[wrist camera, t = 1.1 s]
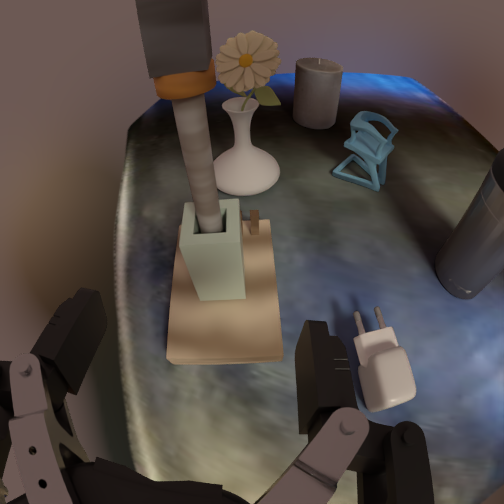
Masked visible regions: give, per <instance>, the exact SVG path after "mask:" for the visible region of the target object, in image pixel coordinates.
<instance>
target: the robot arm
mask: <svg viewBox="0 0 504 504" xmlns="http://www.w3.org/2000/svg"><path fill="white" fill-rule="evenodd" d="M503 268H504V148H503V149H502V150H500V151H499V153H498V154H497V156H496V158H495V160H494V162H493V164H492V166H491V168H490V170H489V172H488V174H487V175H486V177H485V179H484V181H483V183H482V185H481V187H480V188H479V190H478V192H477V194H476V195H475V197H474V199H473V200H472V202H471V204H470V205H469V207H468V209H467V210H466V212H465V214H464V215H463V217H462V218H461V220H460V221H459V223H458V225H457V226H456V228H455V229H454V231H453V232H452V234H451V235H450V236H449V238H448V239H447V241H446V242H445V244H444V245H443V247H442V248H441V249H440V251H439V252H438V254H437V256H436V259H435V269H436V273H437V275H438V278H439V280H440V282H441V283H442V285H443V286H444V287H445V288H446V289H447V291H449V292H450V293H451V294H452V295H454V296H456V297H458V298H461V299H472V298H474V297H475V296H476V295H477V294H478V293H479V292H481V291H482V290H483V289H484V288H485V287H486V286H487V285H488V284H489V283H490V282H491V281H492V280H493V279H494V278H495V277H496V276H497V275H498V274H499V273H500V272H501V271H502V270H503ZM106 328H107V317H106V313H105V310H104V307H103V303H102V300H101V296H100V293H99V292H98V291H96V290H91V289H85V288H80V289H79V290H78V291H77V293H76V294H75V296H74V297H73V299H71V298H68V299H67V300H66V301H65V302H63V303H62V304H61V305H60V306H59V307H58V309H57V310H56V312H55V313H54V317H52V318H51V320H50V321H49V324H47V326H46V327H45V329H44V331H43V332H42V334H41V335H40V337H39V339H38V340H37V342H36V344H35V345H34V347H33V349H32V350H31V352H30V353H24V354H21V355H19V356H17V357H16V358H15V359H14V360H13V361H0V504H250V503H248V502H247V501H246V500H244V499H243V498H241V497H239V496H237V495H235V494H233V493H231V492H229V491H226V490H223V489H222V485H218V484H210V483H202V482H195V481H153V480H151V479H149V478H147V477H145V476H143V475H141V474H139V473H137V472H135V471H133V470H131V469H130V468H128V467H126V466H124V465H120V464H117V463H114V462H111V461H108V460H104V459H102V458H99V457H96V460H95V462H90V461H89V458H88V456H87V454H86V452H85V450H84V449H83V447H82V446H81V444H80V442H79V440H78V438H77V435H76V432H75V429H74V426H73V423H72V419H71V416H70V413H69V409H68V406H67V402H66V399H65V396H66V394H67V392H69V393H71V394H74V395H77V393H78V391H79V388H80V386H81V384H82V381H83V379H84V377H85V374H86V372H87V370H88V368H89V365H90V363H91V361H92V359H93V357H94V355H95V352H96V350H97V348H98V346H99V344H100V342H101V340H102V338H103V335H104V334H105V331H106ZM295 370H296V385H297V402H298V421H299V434H308V444H307V445H306V446H305V448H304V449H303V450H302V451H301V453H300V454H299V455H298V456H297V457H296V459H295V460H294V461H293V462H292V463H291V465H290V466H289V467H288V468H287V469H286V470H285V471H284V473H283V474H282V475H281V476H280V477H279V478H278V479H277V480H276V481H275V482H274V483H273V484H272V485H271V487H270V488H269V489H268V490H267V491H266V492H265V493H264V494H263V495H262V496H261V497H260V498H259V499H258V500H257V501H256V502H255V503H254V504H327V502H328V501H329V500H330V498H331V497H332V496H333V494H334V492H335V491H336V488H337V482H338V481H339V479H340V478H341V476H342V475H343V473H344V472H345V470H351V471H355V472H357V494H358V504H434V494H433V485H432V478H431V471H430V464H429V458H428V452H427V446H426V441H425V436H424V433H423V431H422V429H421V428H420V427H419V426H418V425H417V424H415V423H413V422H410V421H404V422H401V423H399V424H397V425H396V426H395V427H392V426H387V425H382V424H378V423H374V422H372V421H370V420H368V419H367V418H366V416H365V415H364V414H363V413H362V412H360V411H359V409H358V406H357V402H356V396H355V391H354V386H353V381H352V376H351V371H350V366H349V362H348V357H347V353H346V348H345V346H344V344H343V343H342V341H341V340H340V339H339V337H338V336H329V331H328V326H327V323H326V322H325V321H312V320H306V321H305V323H304V326H303V329H302V331H301V334H300V337H299V340H298V343H297V346H296V351H295ZM11 445H13V450H14V454H15V458H16V462H17V466H18V470H19V474H20V477H21V480H22V484H23V487H24V490H25V494H23V495H21V496H19V497H17V498H16V499H14V500H12V501H10V502H8V503H6V502H5V497H7V496H8V490H7V488H6V487H5V486H4V483H3V481H2V477H3V473H4V469H5V465H6V461H7V458H8V454H9V451H10V448H11Z"/></svg>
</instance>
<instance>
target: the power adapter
mask: <svg viewBox="0 0 504 504" xmlns="http://www.w3.org/2000/svg"><path fill="white" fill-rule="evenodd" d="M374 312H375V315H376V318H377V320H378V323H379V327H380V330H376V331H372V332H368V333H366V332H365V329H364V327H363V324H362V320H361V316H360V313H359V312H358V311H355V312H354V313H353V316H354V319H355V322H356V324H357V328H358V332H359V335H358V336H357V337H355V338H354V339H353V340H354V343H355V347H356V350H357V354H358V358H359V361H360V366H359V367H358V375H359V379H360V384H361V388H362V392H363V396H364V400H365V404H366V407H367V409H368V410H369V412H377V411H381V410H384V409H387V408H390V407H393V406H396V405H399V404H402V403H404V402H406V401H409V400H411V399H413V398H414V396H415V395H416V386H415V381H414V377H413V374H412V370H411V367H410V363H409V360H408V357H407V354H406V352H405V350H404V349H403V348H402V347H401V346H399V345H398V342H397V339H396V336H395V332H394V329H393V327H387V328H386V325H385V323H384V320H383V317H382V313H381V310H380V308H379V307H378V306H377V307H375V308H374Z"/></svg>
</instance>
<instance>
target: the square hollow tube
mask: <svg viewBox="0 0 504 504" xmlns="http://www.w3.org/2000/svg"><path fill="white" fill-rule="evenodd" d="M219 204H220V211H221V217H222V224H223V230H224V233H208V234H201V230H200V226H199V222H198V218H197V214H196V210H195V205H194V202H186V203H185V205H184V212H183V219H182V226H181V234H180V241H179V247H180V250H181V253H182V255H183V258H184V261H185V263H186V266H187V269H188V271H189V274H190V276H191V279H192V282H193V284H194V287H195V289H196V292H197V294H198V297H199V299H200V301H210V300H233V299H246V292H245V268H244V253H243V241H242V230H241V218H240V206H239V199H226V200H219Z"/></svg>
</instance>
